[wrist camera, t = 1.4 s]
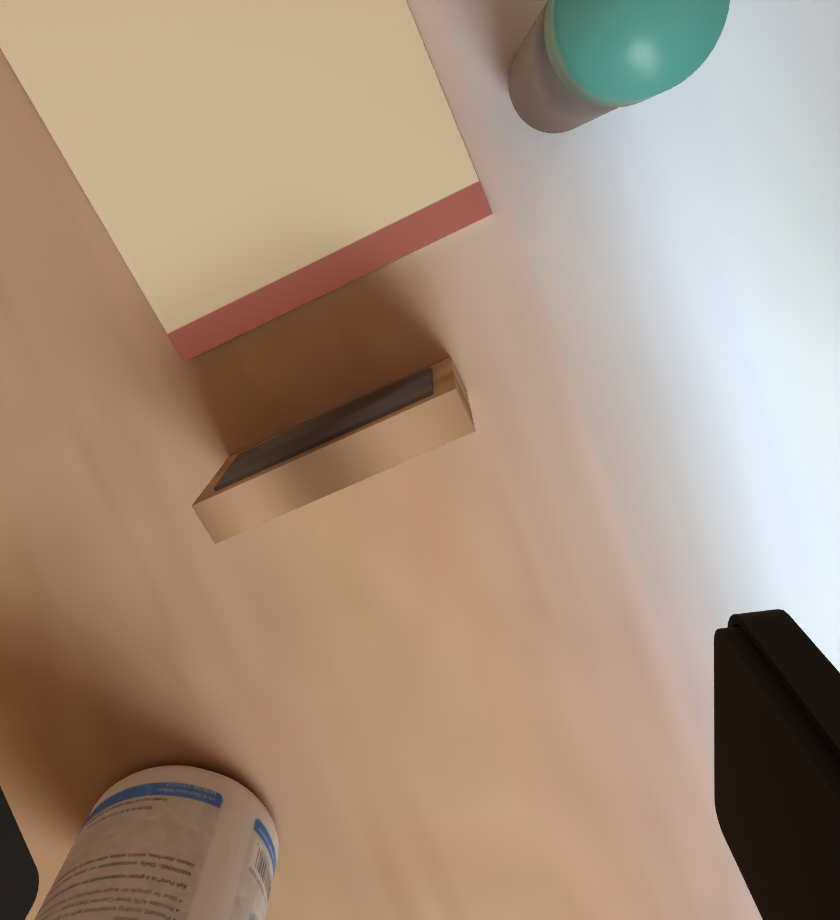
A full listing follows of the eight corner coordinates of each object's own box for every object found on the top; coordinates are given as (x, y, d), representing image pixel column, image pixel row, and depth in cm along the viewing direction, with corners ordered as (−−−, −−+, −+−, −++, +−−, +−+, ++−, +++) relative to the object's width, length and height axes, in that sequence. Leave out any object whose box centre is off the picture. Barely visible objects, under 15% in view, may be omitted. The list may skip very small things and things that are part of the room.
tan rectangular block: (448, 352, 28) (453, 384, 23) (466, 392, 28) (475, 431, 24) (227, 453, 29) (189, 502, 25) (248, 489, 30) (215, 543, 25)
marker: (580, 9, 24) (701, -138, 13) (614, 111, 25) (751, 49, 14) (486, 57, 24) (532, -48, 14) (523, 156, 25) (592, 126, 15)
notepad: (281, -307, 21) (279, -314, 21) (491, 213, 26) (492, 213, 26) (-72, -84, 23) (-79, -87, 23) (186, 360, 28) (183, 362, 28)
